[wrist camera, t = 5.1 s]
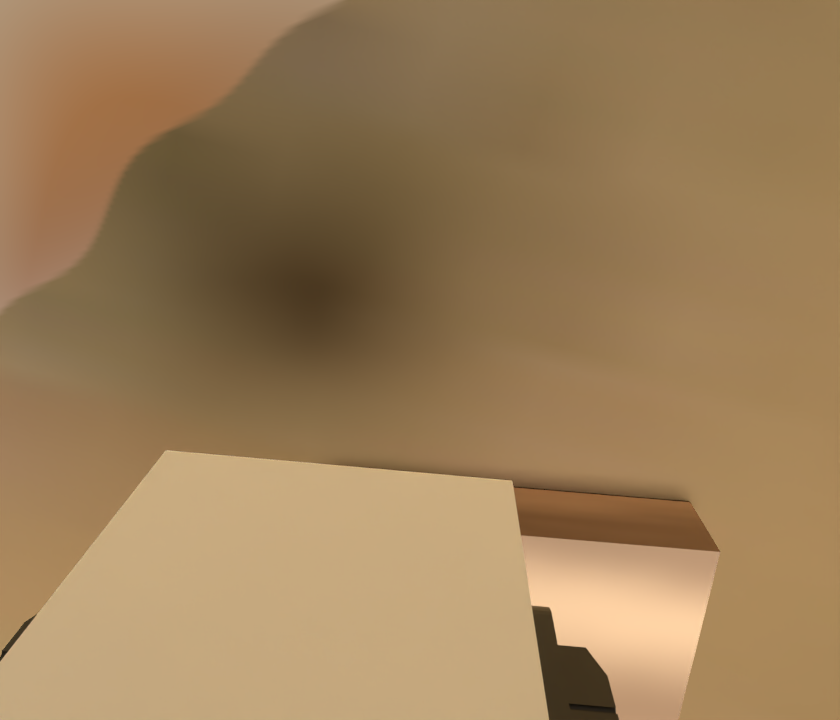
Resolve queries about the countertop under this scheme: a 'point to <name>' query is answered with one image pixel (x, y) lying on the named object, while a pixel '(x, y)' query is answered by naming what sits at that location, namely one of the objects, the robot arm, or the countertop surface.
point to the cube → (289, 602)
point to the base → (622, 587)
